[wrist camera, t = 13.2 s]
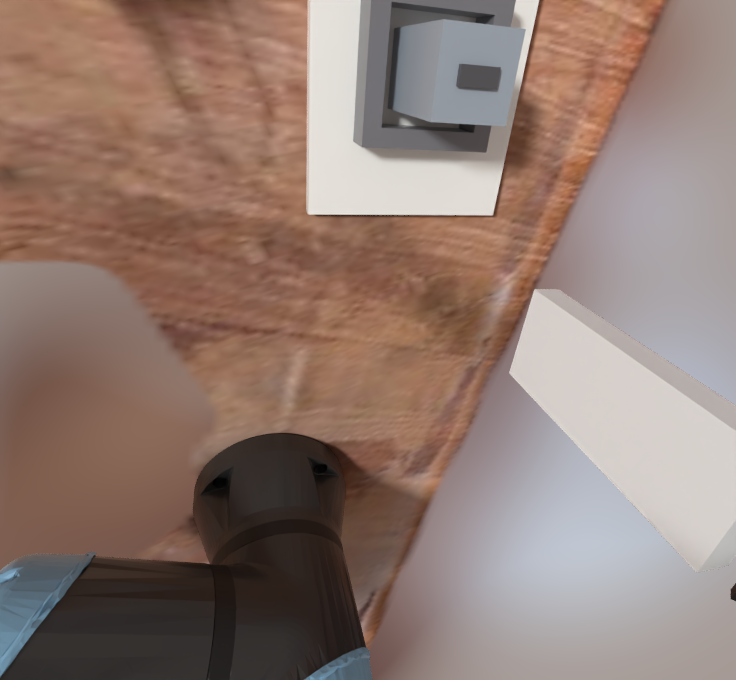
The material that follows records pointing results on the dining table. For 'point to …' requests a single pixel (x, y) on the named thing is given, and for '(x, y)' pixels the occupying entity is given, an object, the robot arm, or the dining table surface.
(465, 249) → the dining table surface
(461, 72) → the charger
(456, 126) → the charging dock
